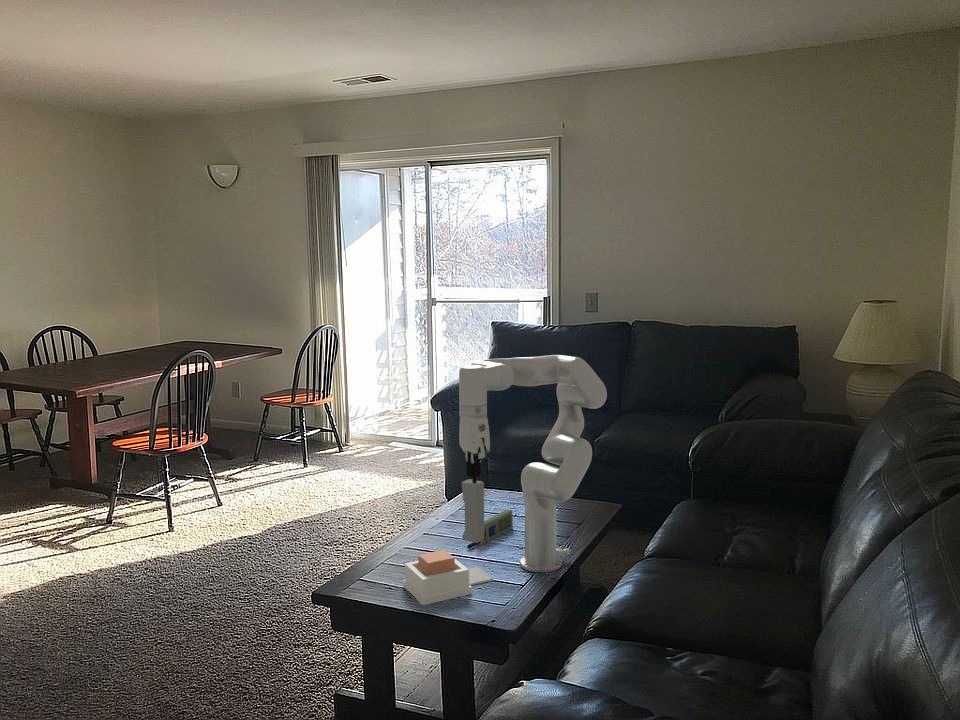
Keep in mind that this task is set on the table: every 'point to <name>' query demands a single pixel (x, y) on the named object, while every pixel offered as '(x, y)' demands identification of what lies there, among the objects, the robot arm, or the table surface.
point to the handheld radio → (495, 527)
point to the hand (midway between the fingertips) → (473, 475)
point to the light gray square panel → (478, 576)
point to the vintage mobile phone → (473, 510)
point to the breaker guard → (436, 583)
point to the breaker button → (436, 561)
